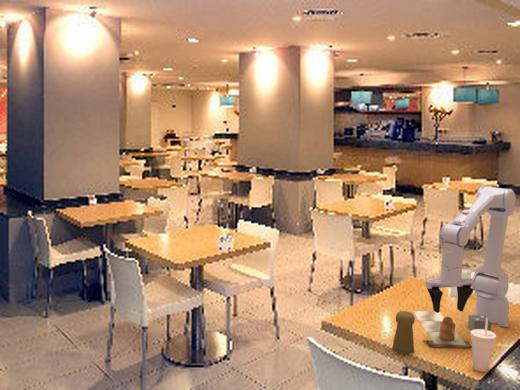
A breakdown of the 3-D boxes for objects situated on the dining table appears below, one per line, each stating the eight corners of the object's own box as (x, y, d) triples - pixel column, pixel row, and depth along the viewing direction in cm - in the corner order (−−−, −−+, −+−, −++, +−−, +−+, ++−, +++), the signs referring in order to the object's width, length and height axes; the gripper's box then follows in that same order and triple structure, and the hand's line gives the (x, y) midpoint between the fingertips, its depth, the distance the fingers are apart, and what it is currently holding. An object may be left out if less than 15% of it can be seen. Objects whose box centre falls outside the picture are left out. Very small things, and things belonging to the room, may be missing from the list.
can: (471, 300, 199) (474, 268, 197) (453, 300, 199) (456, 268, 197) (465, 294, 205) (467, 263, 204) (447, 294, 206) (450, 263, 204)
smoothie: (491, 376, 141) (495, 324, 139) (465, 369, 144) (469, 318, 142) (495, 367, 146) (500, 316, 144) (470, 360, 150) (474, 311, 148)
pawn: (449, 334, 165) (450, 314, 164) (457, 340, 161) (458, 319, 160) (436, 335, 164) (438, 314, 163) (443, 341, 160) (445, 320, 159)
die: (484, 331, 171) (485, 315, 171) (490, 337, 166) (491, 321, 166) (467, 330, 171) (469, 314, 171) (473, 336, 166) (474, 320, 166)
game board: (444, 314, 184) (444, 311, 184) (471, 348, 158) (472, 345, 158) (407, 313, 185) (408, 310, 185) (429, 347, 158) (429, 343, 158)
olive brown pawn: (415, 355, 152) (417, 317, 151) (392, 353, 154) (394, 315, 152) (413, 346, 158) (415, 309, 157) (391, 344, 159) (394, 307, 158)
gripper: (466, 261, 164) (463, 305, 166) (421, 262, 161) (418, 307, 163) (480, 267, 157) (476, 313, 159) (433, 269, 155) (430, 315, 157)
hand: (448, 310), depth 161 cm, fingers open, 7 cm apart
